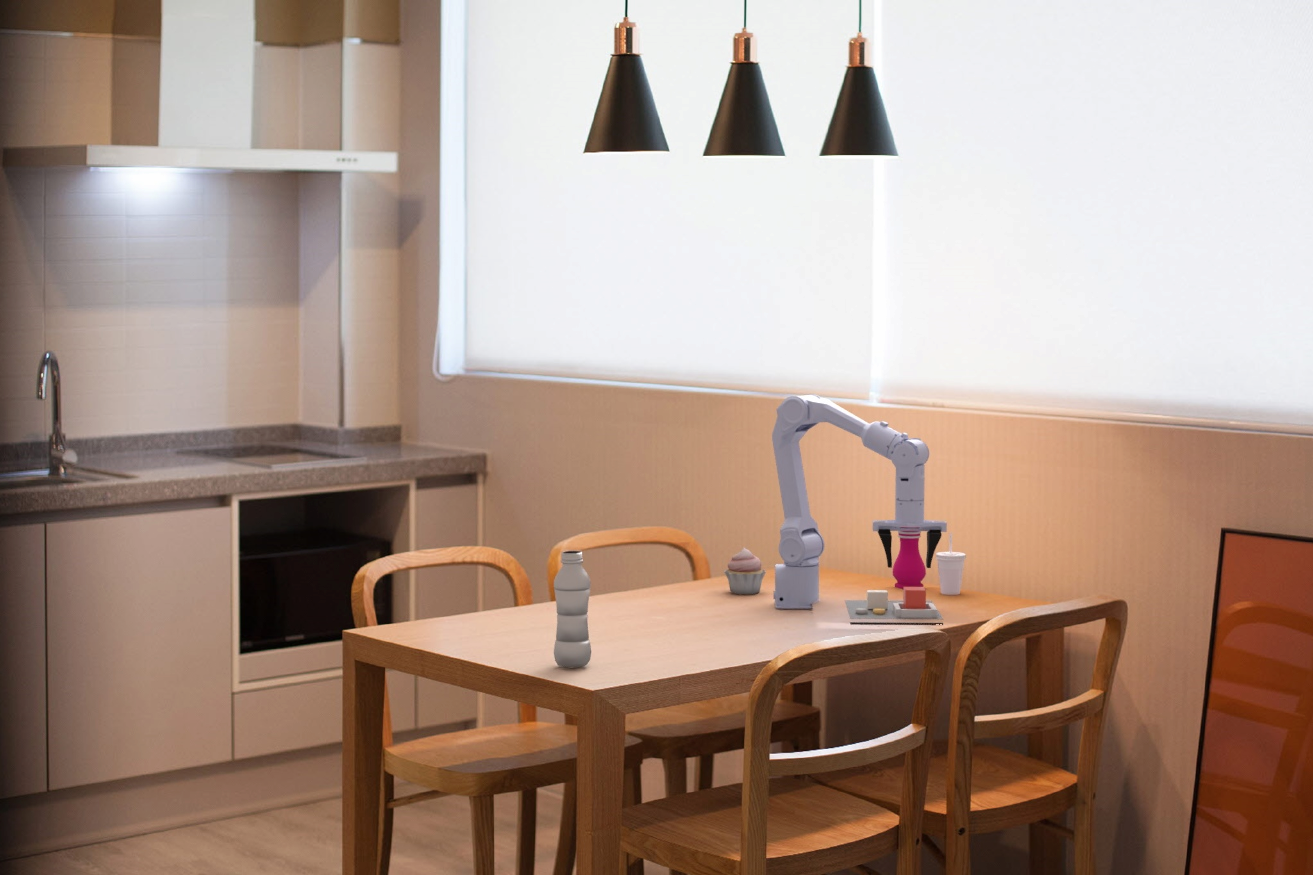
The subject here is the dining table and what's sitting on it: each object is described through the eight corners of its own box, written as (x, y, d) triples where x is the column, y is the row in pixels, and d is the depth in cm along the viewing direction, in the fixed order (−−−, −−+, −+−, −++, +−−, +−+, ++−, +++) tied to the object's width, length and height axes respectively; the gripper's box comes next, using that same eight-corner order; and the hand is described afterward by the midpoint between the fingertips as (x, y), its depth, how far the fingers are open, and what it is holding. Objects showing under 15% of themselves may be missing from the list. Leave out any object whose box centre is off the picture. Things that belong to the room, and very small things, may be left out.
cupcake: (744, 587, 345) (744, 543, 344) (774, 592, 338) (774, 547, 338) (714, 592, 339) (714, 547, 338) (745, 597, 332) (745, 551, 331)
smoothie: (964, 596, 333) (964, 531, 332) (967, 601, 326) (967, 535, 325) (934, 595, 333) (934, 531, 332) (936, 601, 327) (936, 535, 326)
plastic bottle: (547, 669, 264) (546, 553, 262) (563, 661, 270) (562, 548, 269) (582, 672, 262) (580, 555, 260) (597, 664, 268) (596, 550, 266)
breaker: (867, 608, 311) (867, 592, 310) (866, 606, 313) (866, 590, 313) (887, 609, 310) (887, 592, 310) (886, 606, 313) (886, 590, 313)
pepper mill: (892, 588, 342) (892, 499, 341) (925, 589, 341) (925, 499, 340) (892, 594, 335) (893, 503, 334) (926, 595, 334) (926, 503, 333)
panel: (850, 624, 302) (850, 610, 302) (844, 605, 322) (844, 593, 322) (943, 625, 301) (943, 611, 300) (931, 606, 321) (931, 593, 320)
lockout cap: (905, 615, 305) (905, 590, 304) (903, 611, 309) (903, 586, 308) (925, 615, 305) (925, 590, 304) (923, 611, 308) (923, 586, 308)
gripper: (874, 501, 304) (873, 569, 305) (948, 502, 303) (948, 570, 304) (872, 497, 311) (871, 564, 312) (944, 498, 310) (943, 564, 311)
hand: (909, 567), depth 308 cm, fingers open, 7 cm apart
